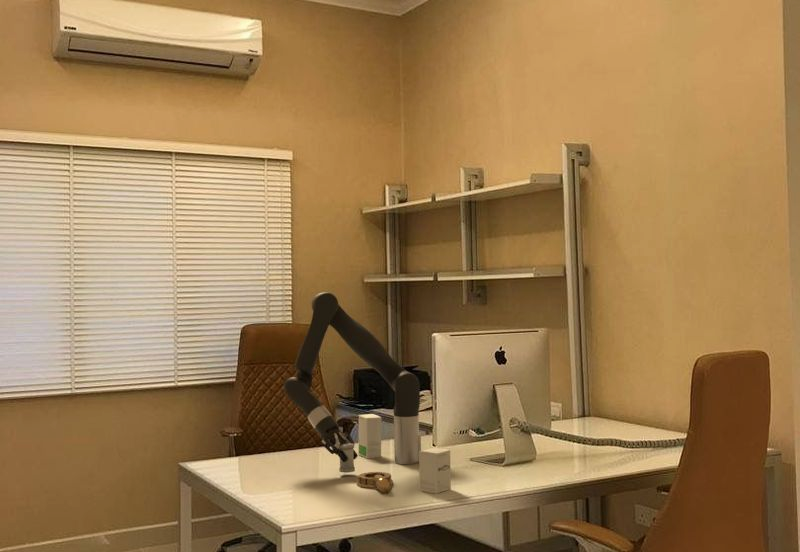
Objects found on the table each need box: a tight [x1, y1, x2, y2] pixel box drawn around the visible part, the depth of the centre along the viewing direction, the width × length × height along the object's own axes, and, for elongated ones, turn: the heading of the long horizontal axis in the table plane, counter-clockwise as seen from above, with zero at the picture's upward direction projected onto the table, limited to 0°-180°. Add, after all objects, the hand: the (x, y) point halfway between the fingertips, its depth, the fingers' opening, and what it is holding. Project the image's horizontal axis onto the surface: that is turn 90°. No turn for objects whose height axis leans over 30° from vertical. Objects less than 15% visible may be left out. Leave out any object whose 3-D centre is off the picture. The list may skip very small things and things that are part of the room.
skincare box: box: [357, 413, 383, 459], centre depth 324 cm, size 8×7×16 cm
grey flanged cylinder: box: [338, 442, 356, 473], centre depth 290 cm, size 5×5×9 cm
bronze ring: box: [356, 471, 394, 495], centre depth 272 cm, size 12×20×4 cm, turn 16°
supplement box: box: [418, 447, 452, 494], centre depth 267 cm, size 7×7×13 cm
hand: (351, 459), depth 289 cm, fingers closed on grey flanged cylinder, 4 cm apart
